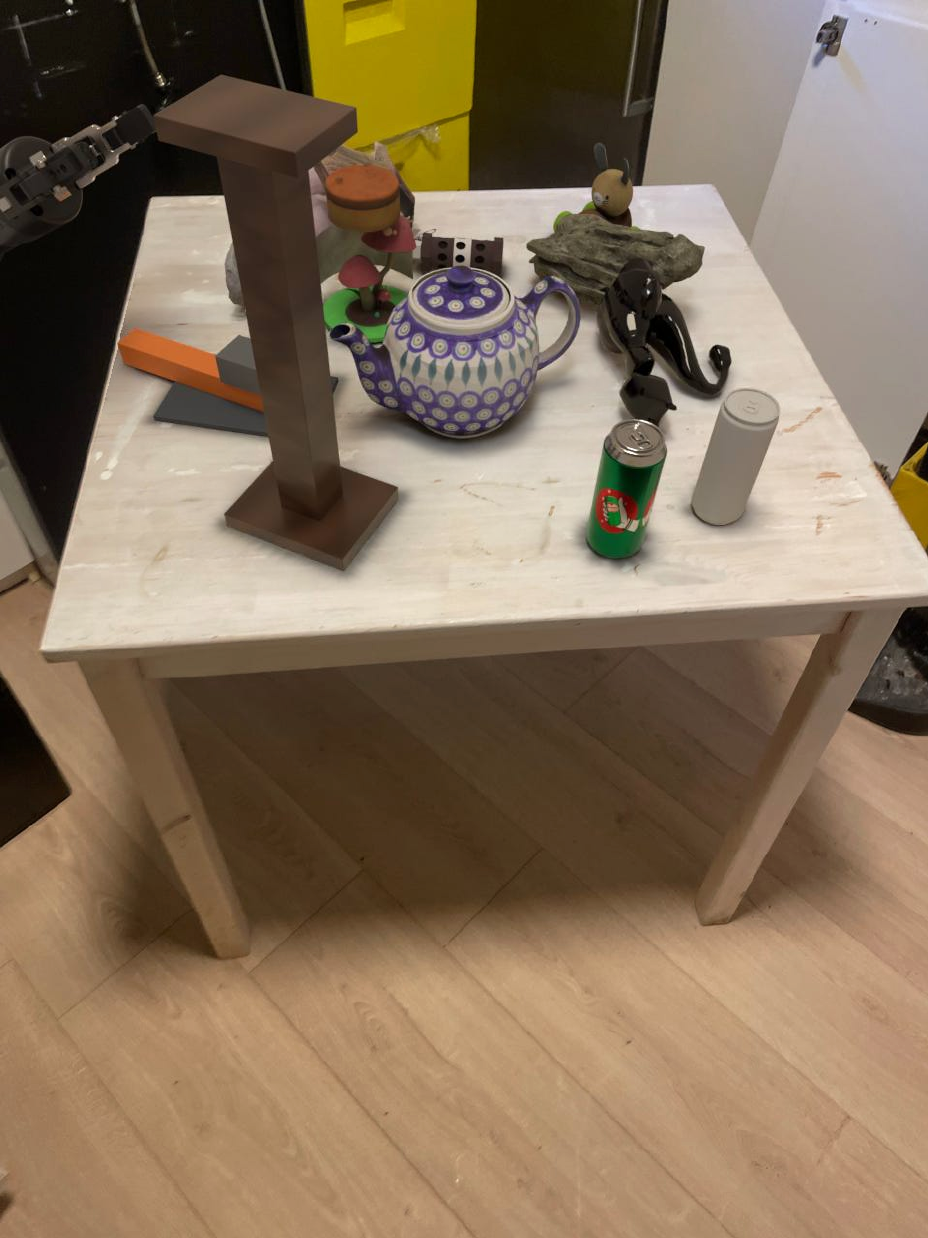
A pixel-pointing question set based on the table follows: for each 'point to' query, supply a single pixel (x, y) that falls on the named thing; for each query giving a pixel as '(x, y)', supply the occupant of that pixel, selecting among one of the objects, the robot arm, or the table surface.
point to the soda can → (626, 488)
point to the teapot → (459, 350)
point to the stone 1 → (233, 278)
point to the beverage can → (735, 454)
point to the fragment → (376, 158)
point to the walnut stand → (283, 308)
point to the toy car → (609, 193)
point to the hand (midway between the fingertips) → (116, 136)
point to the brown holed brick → (458, 253)
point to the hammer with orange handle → (197, 365)
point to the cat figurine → (652, 342)
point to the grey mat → (211, 411)
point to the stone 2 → (609, 254)
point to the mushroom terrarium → (364, 247)
